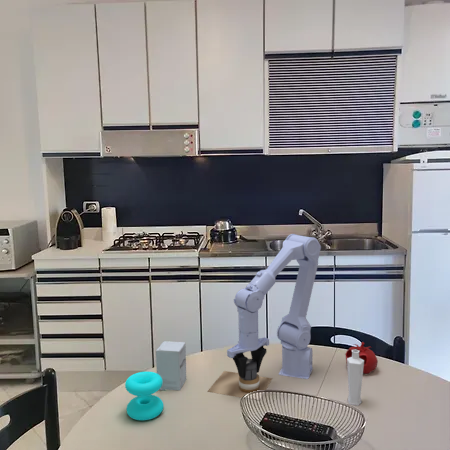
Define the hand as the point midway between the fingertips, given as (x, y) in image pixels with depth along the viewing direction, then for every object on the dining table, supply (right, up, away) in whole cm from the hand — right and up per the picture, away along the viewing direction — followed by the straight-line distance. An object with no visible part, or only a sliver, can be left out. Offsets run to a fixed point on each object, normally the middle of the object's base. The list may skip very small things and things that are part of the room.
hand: (249, 373), depth 138 cm
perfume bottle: (+29, -6, -7) cm, 31 cm away
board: (-2, -5, +3) cm, 6 cm away
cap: (0, -1, 0) cm, 1 cm away
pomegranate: (+37, -3, +12) cm, 39 cm away
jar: (0, -4, +1) cm, 4 cm away
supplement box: (-23, -5, +4) cm, 24 cm away
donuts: (-29, -7, -10) cm, 32 cm away
